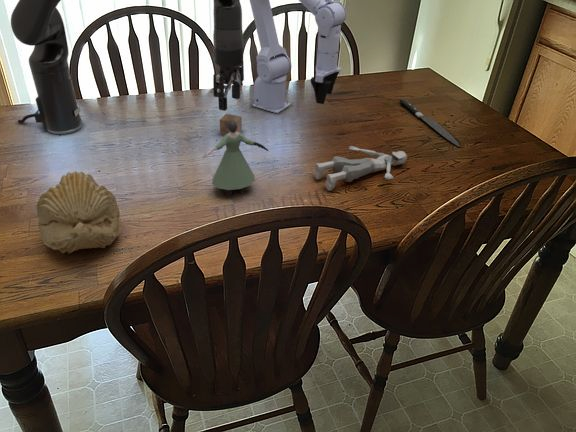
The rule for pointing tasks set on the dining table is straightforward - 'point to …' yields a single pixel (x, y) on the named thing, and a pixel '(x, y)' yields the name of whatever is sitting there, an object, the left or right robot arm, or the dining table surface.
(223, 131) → the brown cube-like block
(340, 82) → the dining table surface
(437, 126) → the knife
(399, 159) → the figurine
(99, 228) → the fossil
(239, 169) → the character figurine
